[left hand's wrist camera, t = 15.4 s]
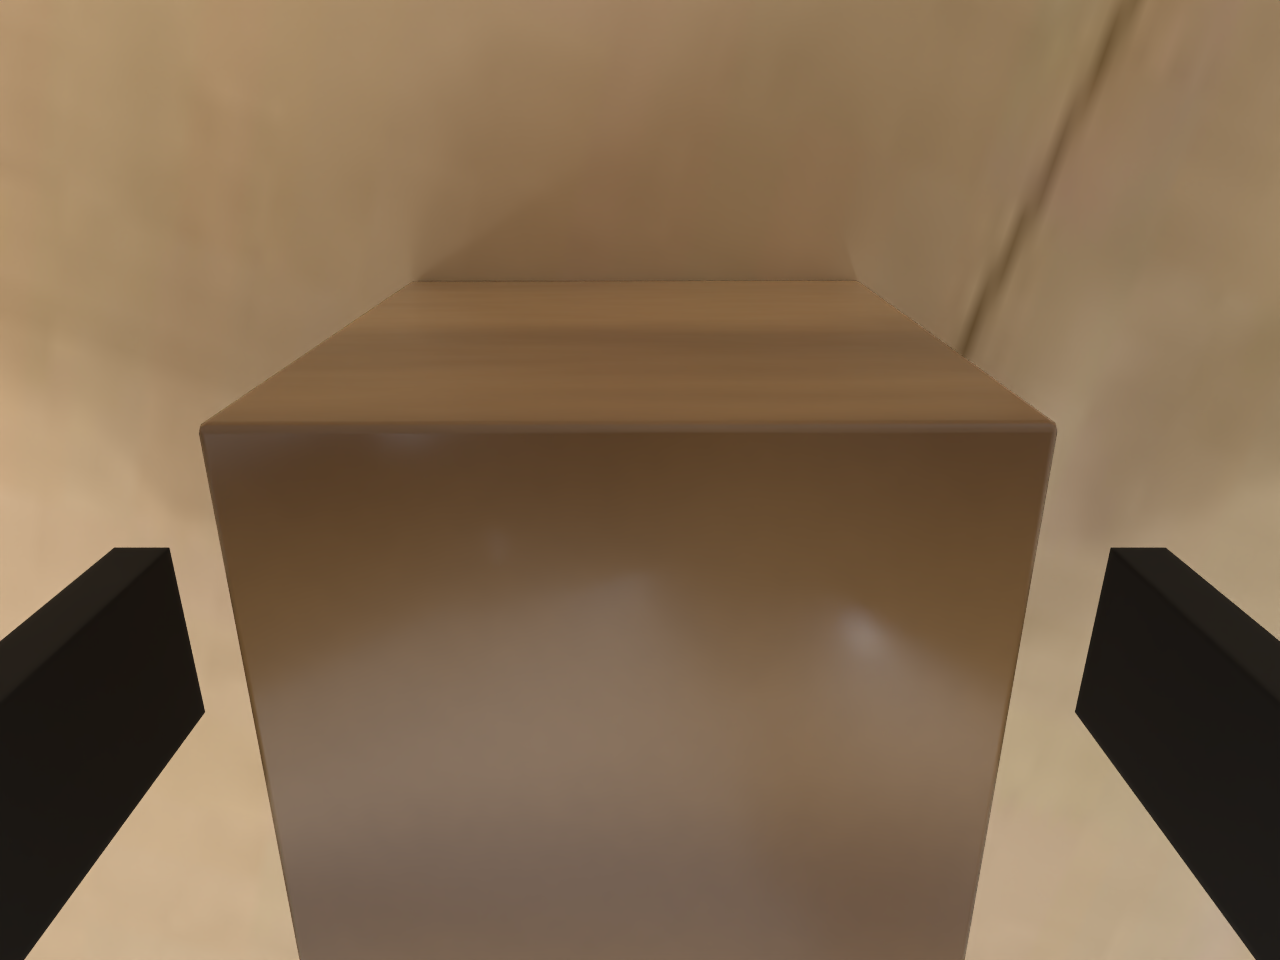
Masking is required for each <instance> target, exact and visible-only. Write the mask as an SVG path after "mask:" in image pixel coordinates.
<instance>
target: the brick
mask: <svg viewBox="0 0 1280 960" xmlns="http://www.w3.org/2000/svg"><path fill="white" fill-rule="evenodd" d="M199 435H200V441H201V446H202V451H203V456H204V462H205V467H206V472H207V477H208V482H209V488H210V493H211V498H212V503H213V509H214V514H215V519H216V524H217V530H218V535H219V540H220V545H221V550H222V556H223V561H224V566H225V571H226V577H227V582H228V587H229V592H230V598H231V603H232V608H233V613H234V619H235V624H236V629H237V634H238V639H239V645H240V650H241V655H242V660H243V666H244V671H245V676H246V681H247V687H248V692H249V697H250V702H251V707H252V713H253V718H254V723H255V728H256V734H257V739H258V744H259V749H260V755H261V760H262V765H263V770H264V775H265V781H266V786H267V791H268V796H269V802H270V807H271V812H272V817H273V823H274V828H275V833H276V838H277V843H278V849H279V854H280V859H281V864H282V870H283V875H284V880H285V885H286V891H287V896H288V901H289V906H290V912H291V917H292V922H293V927H294V932H295V938H296V943H297V948H298V953H299V959H300V960H965V954H966V948H967V943H968V937H969V931H970V926H971V920H972V914H973V908H974V903H975V897H976V891H977V886H978V880H979V874H980V869H981V863H982V857H983V851H984V846H985V840H986V834H987V829H988V823H989V817H990V812H991V806H992V800H993V794H994V789H995V783H996V777H997V772H998V766H999V760H1000V754H1001V749H1002V743H1003V737H1004V732H1005V726H1006V720H1007V715H1008V709H1009V703H1010V697H1011V692H1012V686H1013V680H1014V675H1015V669H1016V663H1017V658H1018V652H1019V646H1020V640H1021V635H1022V629H1023V623H1024V618H1025V612H1026V606H1027V601H1028V595H1029V589H1030V583H1031V578H1032V572H1033V566H1034V561H1035V555H1036V549H1037V544H1038V538H1039V532H1040V526H1041V521H1042V515H1043V509H1044V504H1045V498H1046V492H1047V487H1048V481H1049V475H1050V469H1051V464H1052V458H1053V452H1054V447H1055V441H1056V435H1057V428H1056V424H1055V422H1053V421H1052V420H1051V419H1049V418H1048V417H1046V416H1045V415H1044V414H1042V413H1041V412H1039V411H1038V410H1037V409H1035V408H1034V407H1032V406H1031V405H1030V404H1028V403H1027V402H1025V401H1024V400H1023V399H1021V398H1020V397H1018V396H1017V395H1016V394H1014V393H1013V392H1012V391H1010V390H1009V389H1007V388H1006V387H1005V386H1003V385H1002V384H1000V383H999V382H998V381H996V380H995V379H993V378H992V377H991V376H989V375H988V374H986V373H985V372H984V371H982V370H981V369H980V368H978V367H977V366H975V365H974V364H973V363H971V362H970V361H968V360H967V359H966V358H964V357H963V356H961V355H960V354H959V353H957V352H956V351H954V350H953V349H952V348H950V347H949V346H948V345H946V344H945V343H943V342H942V341H941V340H939V339H938V338H936V337H935V336H934V335H932V334H931V333H929V332H928V331H927V330H925V329H924V328H922V327H921V326H920V325H918V324H917V323H915V322H914V321H913V320H911V319H910V318H909V317H907V316H906V315H904V314H903V313H902V312H900V311H899V310H897V309H896V308H895V307H893V306H892V305H890V304H889V303H888V302H886V301H885V300H883V299H882V298H881V297H879V296H878V295H877V294H875V293H874V292H872V291H871V290H870V289H868V288H867V287H865V286H864V285H863V284H861V283H860V282H858V281H467V282H412V283H410V284H408V285H407V286H405V287H404V288H402V289H401V290H399V291H398V292H396V293H395V294H393V295H392V296H390V297H389V298H387V299H386V300H384V301H383V302H381V303H380V304H378V305H377V306H376V307H374V308H373V309H371V310H370V311H368V312H367V313H365V314H364V315H362V316H361V317H359V318H358V319H356V320H355V321H353V322H352V323H350V324H349V325H347V326H346V327H344V328H343V329H341V330H340V331H339V332H337V333H336V334H334V335H333V336H331V337H330V338H328V339H327V340H325V341H324V342H322V343H321V344H319V345H318V346H316V347H315V348H313V349H312V350H310V351H309V352H307V353H306V354H304V355H303V356H302V357H300V358H299V359H297V360H296V361H294V362H293V363H291V364H290V365H288V366H287V367H285V368H284V369H282V370H281V371H279V372H278V373H276V374H275V375H273V376H272V377H270V378H269V379H267V380H266V381H265V382H263V383H262V384H260V385H259V386H257V387H256V388H254V389H253V390H251V391H250V392H248V393H247V394H245V395H244V396H242V397H241V398H239V399H238V400H236V401H235V402H233V403H232V404H230V405H229V406H228V407H226V408H225V409H223V410H222V411H220V412H219V413H217V414H216V415H214V416H213V417H211V418H210V419H208V420H207V421H205V422H204V423H202V424H201V426H200V431H199Z"/></svg>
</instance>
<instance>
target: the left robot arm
mask: <svg viewBox="0 0 1280 960" xmlns="http://www.w3.org/2000/svg"><path fill="white" fill-rule="evenodd" d="M204 713H205V710H204V705H203V700H202V696H201V691H200V687H199V682H198V677H197V673H196V668H195V664H194V659H193V654H192V650H191V645H190V641H189V636H188V631H187V627H186V622H185V618H184V613H183V609H182V604H181V599H180V595H179V590H178V586H177V581H176V576H175V572H174V567H173V563H172V558H171V553H170V549H169V548H113V549H112V550H111V551H110V552H108V553H107V554H106V555H105V556H104V557H102V558H101V559H100V560H99V561H98V562H96V563H95V564H94V565H93V566H91V567H90V568H89V569H88V570H87V571H85V572H84V573H83V574H82V575H80V576H79V577H78V578H77V579H76V580H74V581H73V582H72V583H71V584H69V585H68V586H67V587H66V588H65V589H63V590H62V591H61V592H60V593H59V594H57V595H56V596H55V597H54V598H52V599H51V600H50V601H49V602H48V603H46V604H45V605H44V606H43V607H41V608H40V609H39V610H38V611H37V612H35V613H34V614H33V615H32V616H30V617H29V618H28V619H27V620H26V621H24V622H23V623H22V624H21V625H20V626H18V627H17V628H16V629H15V630H13V631H12V632H11V633H10V634H9V635H7V636H6V637H5V638H4V639H2V640H1V641H0V960H24V959H25V958H26V956H27V955H28V954H29V952H30V951H31V950H32V948H33V947H34V946H35V944H36V943H37V941H38V940H39V939H40V937H41V936H42V935H43V933H44V932H45V930H46V929H47V928H48V926H49V925H50V924H51V922H52V921H53V920H54V918H55V917H56V915H57V914H58V913H59V911H60V910H61V909H62V907H63V906H64V904H65V903H66V902H67V900H68V899H69V898H70V896H71V895H72V893H73V892H74V891H75V889H76V888H77V887H78V885H79V884H80V883H81V881H82V880H83V878H84V877H85V876H86V874H87V873H88V872H89V870H90V869H91V867H92V866H93V865H94V863H95V862H96V861H97V859H98V858H99V857H100V855H101V854H102V852H103V851H104V850H105V848H106V847H107V846H108V844H109V843H110V841H111V840H112V839H113V837H114V836H115V835H116V833H117V832H118V831H119V829H120V828H121V826H122V825H123V824H124V822H125V821H126V820H127V818H128V817H129V815H130V814H131V813H132V811H133V810H134V809H135V807H136V806H137V804H138V803H139V802H140V800H141V799H142V798H143V796H144V795H145V794H146V792H147V791H148V789H149V788H150V787H151V785H152V784H153V783H154V781H155V780H156V778H157V777H158V776H159V774H160V773H161V772H162V770H163V769H164V768H165V766H166V765H167V763H168V762H169V761H170V759H171V758H172V757H173V755H174V754H175V752H176V751H177V750H178V748H179V747H180V746H181V744H182V743H183V741H184V740H185V739H186V737H187V736H188V735H189V733H190V732H191V731H192V729H193V728H194V726H195V725H196V724H197V722H198V721H199V720H200V718H201V717H202V715H203V714H204ZM1075 713H1076V714H1077V715H1078V717H1079V718H1080V720H1081V721H1082V722H1083V724H1084V725H1085V726H1086V728H1087V729H1088V731H1089V732H1090V733H1091V735H1092V736H1093V737H1094V739H1095V740H1096V742H1097V743H1098V744H1099V746H1100V747H1101V748H1102V750H1103V751H1104V752H1105V754H1106V755H1107V757H1108V758H1109V759H1110V761H1111V762H1112V763H1113V765H1114V766H1115V768H1116V769H1117V770H1118V772H1119V773H1120V774H1121V776H1122V777H1123V778H1124V780H1125V781H1126V783H1127V784H1128V785H1129V787H1130V788H1131V789H1132V791H1133V792H1134V794H1135V795H1136V796H1137V798H1138V799H1139V800H1140V802H1141V803H1142V804H1143V806H1144V807H1145V809H1146V810H1147V811H1148V813H1149V814H1150V815H1151V817H1152V818H1153V820H1154V821H1155V822H1156V824H1157V825H1158V826H1159V828H1160V829H1161V831H1162V832H1163V833H1164V835H1165V836H1166V837H1167V839H1168V840H1169V841H1170V843H1171V844H1172V846H1173V847H1174V848H1175V850H1176V851H1177V852H1178V854H1179V855H1180V857H1181V858H1182V859H1183V861H1184V862H1185V863H1186V865H1187V866H1188V867H1189V869H1190V870H1191V872H1192V873H1193V874H1194V876H1195V877H1196V878H1197V880H1198V881H1199V883H1200V884H1201V885H1202V887H1203V888H1204V889H1205V891H1206V892H1207V893H1208V895H1209V896H1210V898H1211V899H1212V900H1213V902H1214V903H1215V904H1216V906H1217V907H1218V909H1219V910H1220V911H1221V913H1222V914H1223V915H1224V917H1225V918H1226V920H1227V921H1228V922H1229V924H1230V925H1231V926H1232V928H1233V929H1234V930H1235V932H1236V933H1237V935H1238V936H1239V937H1240V939H1241V940H1242V941H1243V943H1244V944H1245V946H1246V947H1247V948H1248V950H1249V951H1250V952H1251V954H1252V955H1253V956H1254V958H1255V959H1256V960H1280V641H1279V640H1278V639H1276V638H1275V637H1274V636H1273V635H1271V634H1270V633H1269V632H1268V631H1267V630H1265V629H1264V628H1263V627H1262V626H1260V625H1259V624H1258V623H1257V622H1256V621H1254V620H1253V619H1252V618H1251V617H1250V616H1248V615H1247V614H1246V613H1245V612H1243V611H1242V610H1241V609H1240V608H1239V607H1237V606H1236V605H1235V604H1234V603H1232V602H1231V601H1230V600H1229V599H1228V598H1226V597H1225V596H1224V595H1223V594H1221V593H1220V592H1219V591H1218V590H1217V589H1215V588H1214V587H1213V586H1212V585H1211V584H1209V583H1208V582H1207V581H1206V580H1204V579H1203V578H1202V577H1201V576H1200V575H1198V574H1197V573H1196V572H1195V571H1193V570H1192V569H1191V568H1190V567H1189V566H1187V565H1186V564H1185V563H1184V562H1182V561H1181V560H1180V559H1179V558H1178V557H1176V556H1175V555H1174V554H1173V553H1172V552H1170V551H1169V550H1168V549H1167V548H1111V549H1110V553H1109V558H1108V563H1107V567H1106V572H1105V576H1104V581H1103V586H1102V590H1101V595H1100V599H1099V604H1098V608H1097V613H1096V618H1095V622H1094V627H1093V631H1092V636H1091V641H1090V645H1089V650H1088V654H1087V659H1086V664H1085V668H1084V673H1083V677H1082V682H1081V687H1080V691H1079V696H1078V700H1077V705H1076V710H1075Z"/></svg>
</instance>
